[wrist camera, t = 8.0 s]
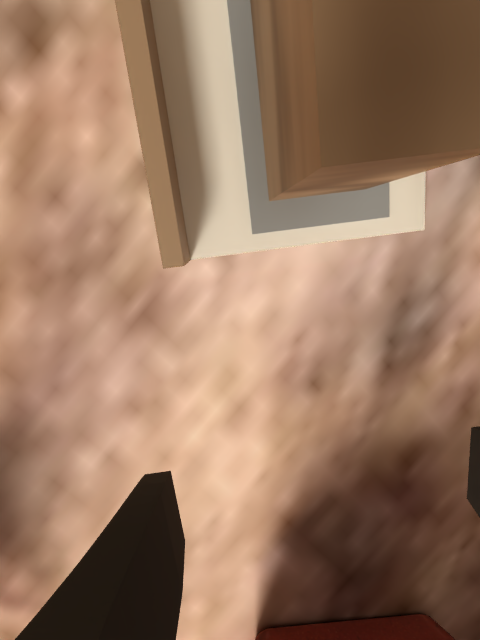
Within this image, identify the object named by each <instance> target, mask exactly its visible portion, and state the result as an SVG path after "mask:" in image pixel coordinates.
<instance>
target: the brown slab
mask: <svg viewBox="0 0 480 640" xmlns="http://www.w3.org/2000/svg"><path fill="white" fill-rule="evenodd" d="M250 4H251V15H252V25H253V36H254V46H255V57H256V68H257V78H258V89H259V100H260V110H261V121H262V132H263V142H264V153H265V164H266V174H267V185H268V195H269V201H275V200H283V199H291V198H299V197H307V196H315V195H323V194H331V193H339V192H348V191H356V190H364V189H368V188H371V187H375V186H378V185H381V184H385V183H388V182H391V181H394V180H398V179H401V178H404V177H408V176H411V175H414V174H418V173H421V172H424V171H428V170H431V169H434V168H438V167H441V166H444V165H448V164H451V163H454V162H458V161H461V160H464V159H468V158H471V157H474V156H477V155H480V0H250Z"/></svg>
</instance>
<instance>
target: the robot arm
mask: <svg viewBox="0 0 480 640" xmlns="http://www.w3.org/2000/svg"><path fill="white" fill-rule="evenodd" d="M467 499H468V501H469V502H470V504H471V505H472V507H473V508H474V510H475V511H476V513H477V514H478V516H479V517H480V426H479V427H472V428H471V442H470V458H469V474H468V490H467ZM184 553H185V538H184V533H183V528H182V524H181V519H180V514H179V509H178V504H177V499H176V494H175V490H174V485H173V480H172V475H171V471H166V472H159V473H152V474H145V475H144V476H143V477H142V479H141V480H140V481H139V483H138V484H137V485H136V487H135V488H134V489H133V491H132V492H131V493H130V495H129V496H128V498H127V499H126V500H125V502H124V503H123V505H122V506H121V507H120V509H119V510H118V511H117V513H116V514H115V515H114V517H113V518H112V520H111V521H110V522H109V524H108V525H107V526H106V528H105V529H104V530H103V532H102V533H101V534H100V536H99V537H98V538H97V540H96V541H95V542H94V543H93V545H92V546H91V547H90V549H89V550H88V551H87V553H86V554H85V555H84V557H83V558H82V559H81V561H80V562H79V563H78V564H77V566H76V567H75V568H74V569H73V571H72V572H71V573H70V574H69V576H68V577H67V578H66V579H65V580H64V582H63V583H62V584H61V585H60V587H59V588H58V589H57V590H56V591H55V593H54V594H53V595H52V596H51V597H50V599H49V600H48V601H47V602H46V604H45V605H44V606H43V607H42V608H41V610H40V611H39V612H38V613H37V615H36V616H35V617H34V618H33V619H32V620H31V622H30V623H29V624H28V625H27V626H26V627H25V628H24V630H23V631H22V632H21V633H20V634H19V635H18V637H17V638H16V639H15V640H176V634H177V627H178V620H179V613H180V606H181V599H182V591H183V573H184Z"/></svg>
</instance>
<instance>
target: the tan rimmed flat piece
mask: <svg viewBox="0 0 480 640" xmlns="http://www.w3.org/2000/svg"><path fill="white" fill-rule="evenodd" d="M115 3H116V9H117V15H118V20H119V26H120V31H121V37H122V42H123V48H124V54H125V59H126V65H127V70H128V76H129V81H130V87H131V92H132V98H133V104H134V109H135V115H136V120H137V126H138V131H139V137H140V143H141V148H142V154H143V159H144V165H145V170H146V176H147V182H148V187H149V193H150V198H151V204H152V209H153V215H154V220H155V226H156V232H157V237H158V243H159V248H160V254H161V259H162V265H163V269H164V268H172V267H180V266H185V265H186V264H187V263H188V262H189V261H190V260H194V259H201V258H209V257H217V256H225V255H233V254H240V253H248V252H256V251H264V250H272V249H280V248H287V247H295V246H303V245H311V244H319V243H327V242H334V241H342V240H350V239H358V238H366V237H374V236H381V235H389V234H397V233H405V232H413V231H421V230H425V182H426V171H424V172H421V173H418V174H414V175H411V176H408V177H404V178H401V179H398V180H394V181H391V182H388V183H385V184H381V185H378V186H375V187H371V188H368V189H364V190H356V191H348V192H339V193H331V194H323V195H315V196H307V197H299V198H291V199H283V200H275V201H269V195H268V185H267V174H266V164H265V153H264V142H263V132H262V121H261V110H260V100H259V89H258V78H257V68H256V57H255V46H254V36H253V25H252V15H251V4H250V0H115Z"/></svg>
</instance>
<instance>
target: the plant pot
mask: <svg viewBox="0 0 480 640" xmlns="http://www.w3.org/2000/svg"><path fill="white" fill-rule="evenodd" d="M255 640H455V639H454V638H453V637H452V636H451V635H450V634H449V633H448V632H447V631H445V630H444V629H443V628H442V627H441V626H440V625H439V624H438V623H437V622H436V621H434V620H433V619H432V618H431V617H430V616H427V615H424V614H416V615H406V616H395V617H383V618H373V619H362V620H352V621H341V622H331V623H321V624H311V625H301V626H290V627H279V628H269V629H265V630H264V631H262V632H260V633H259V634H258V635H257V637H256V639H255Z"/></svg>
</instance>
